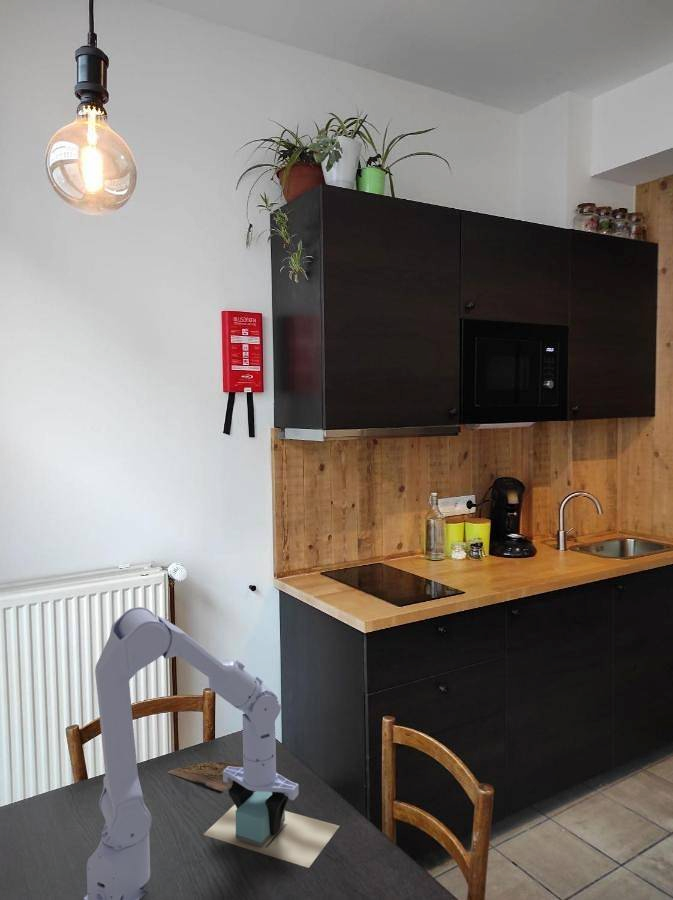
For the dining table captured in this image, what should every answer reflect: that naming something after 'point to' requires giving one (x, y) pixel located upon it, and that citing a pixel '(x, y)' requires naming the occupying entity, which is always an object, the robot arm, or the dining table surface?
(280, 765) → the dining table surface
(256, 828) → the block
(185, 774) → the wooden fragment
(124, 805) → the robot arm
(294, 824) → the birch board
